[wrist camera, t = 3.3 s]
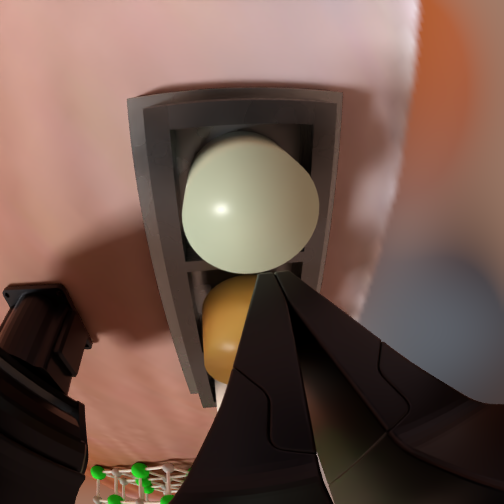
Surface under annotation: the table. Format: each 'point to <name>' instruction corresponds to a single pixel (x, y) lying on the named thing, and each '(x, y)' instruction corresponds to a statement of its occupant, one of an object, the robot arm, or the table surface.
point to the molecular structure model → (139, 483)
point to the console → (175, 178)
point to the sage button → (248, 204)
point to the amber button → (225, 323)
